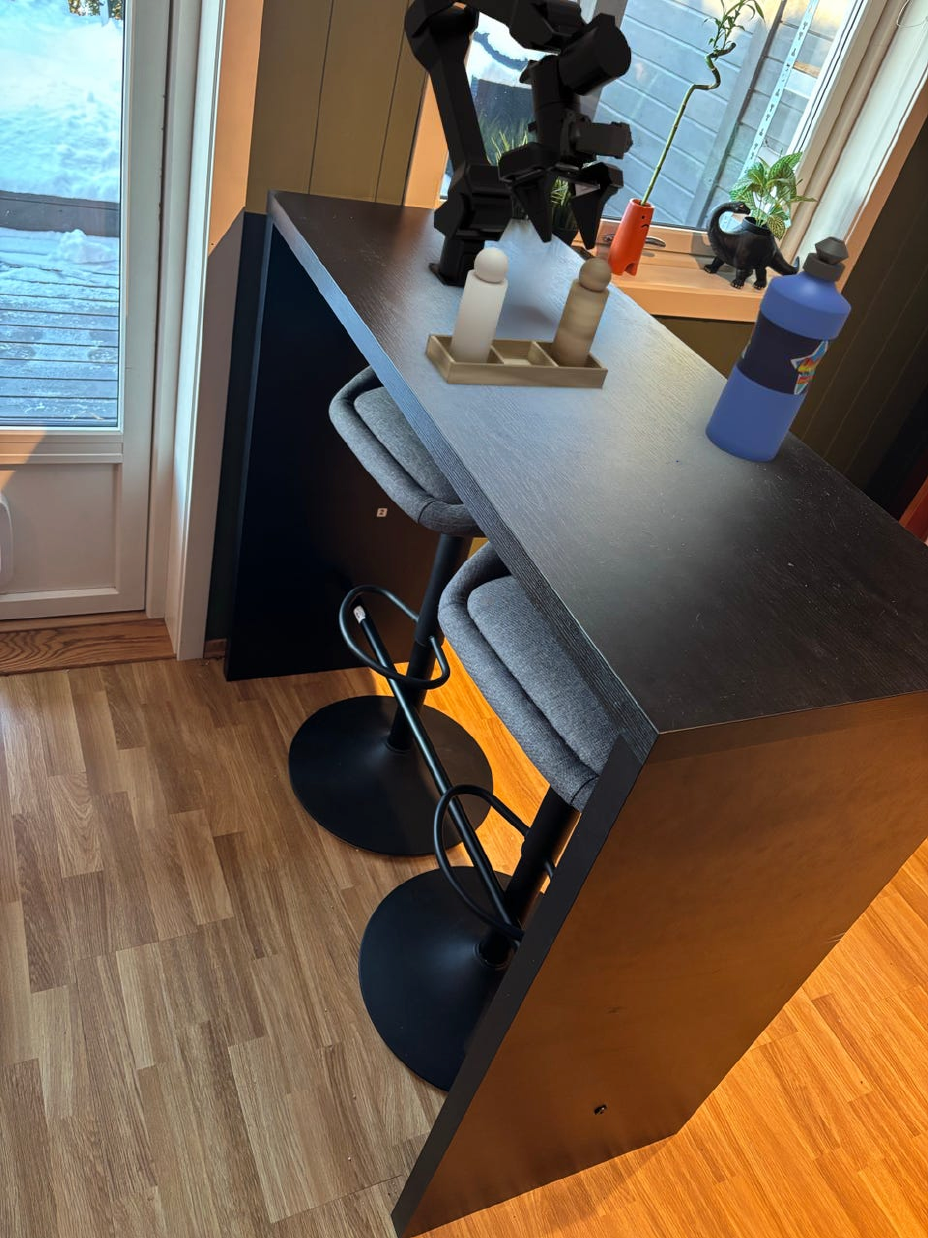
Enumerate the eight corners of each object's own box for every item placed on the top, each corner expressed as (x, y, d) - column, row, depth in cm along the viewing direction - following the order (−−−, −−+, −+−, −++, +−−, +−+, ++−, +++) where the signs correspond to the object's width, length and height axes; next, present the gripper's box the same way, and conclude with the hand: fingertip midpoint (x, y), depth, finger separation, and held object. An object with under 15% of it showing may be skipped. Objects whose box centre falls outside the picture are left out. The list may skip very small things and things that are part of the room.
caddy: (423, 359, 114) (429, 333, 112) (572, 365, 123) (580, 342, 121) (446, 389, 109) (453, 363, 107) (599, 393, 118) (608, 370, 116)
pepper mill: (541, 360, 120) (577, 247, 111) (575, 366, 121) (613, 255, 112) (549, 377, 116) (586, 262, 108) (583, 383, 118) (623, 270, 109)
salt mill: (439, 358, 113) (468, 238, 104) (474, 360, 115) (505, 242, 106) (454, 377, 110) (485, 254, 101) (489, 378, 112) (523, 258, 103)
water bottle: (789, 453, 118) (892, 254, 103) (752, 469, 112) (856, 260, 97) (728, 417, 123) (819, 221, 107) (690, 430, 117) (780, 224, 101)
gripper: (567, 68, 103) (580, 220, 105) (655, 104, 116) (665, 237, 119) (488, 103, 110) (502, 244, 113) (580, 133, 124) (591, 258, 126)
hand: (569, 245), depth 117 cm, fingers open, 9 cm apart
